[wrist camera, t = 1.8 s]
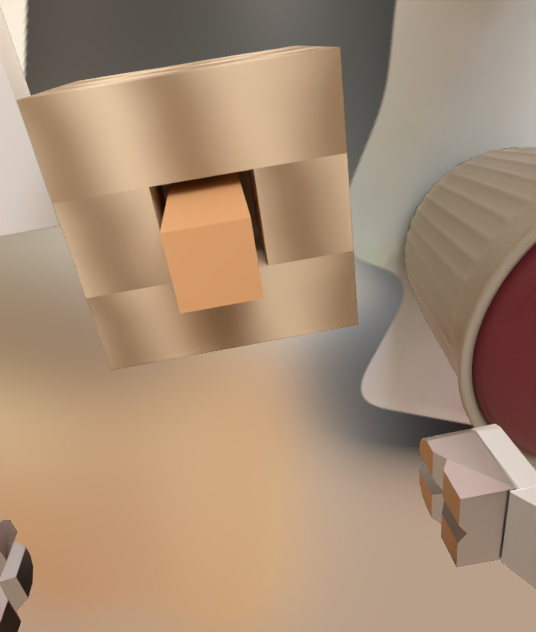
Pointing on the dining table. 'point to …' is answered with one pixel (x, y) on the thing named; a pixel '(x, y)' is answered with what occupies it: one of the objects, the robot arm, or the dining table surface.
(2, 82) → the socket plate
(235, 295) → the peg
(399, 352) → the dining table surface
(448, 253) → the canister
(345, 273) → the notched wooden cube
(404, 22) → the dining table surface
